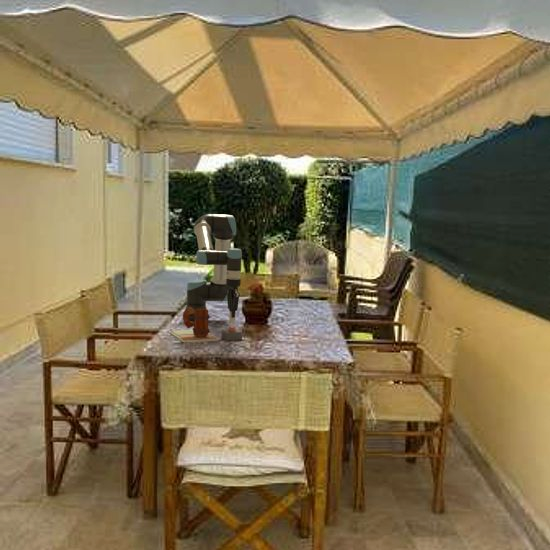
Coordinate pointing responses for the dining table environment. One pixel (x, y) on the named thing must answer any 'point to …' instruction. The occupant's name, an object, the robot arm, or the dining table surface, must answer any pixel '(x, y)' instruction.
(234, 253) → the robot arm
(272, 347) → the dining table surface
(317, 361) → the dining table surface
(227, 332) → the button base
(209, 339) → the picture board
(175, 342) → the dining table surface
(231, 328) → the button
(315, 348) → the dining table surface
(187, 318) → the mug
